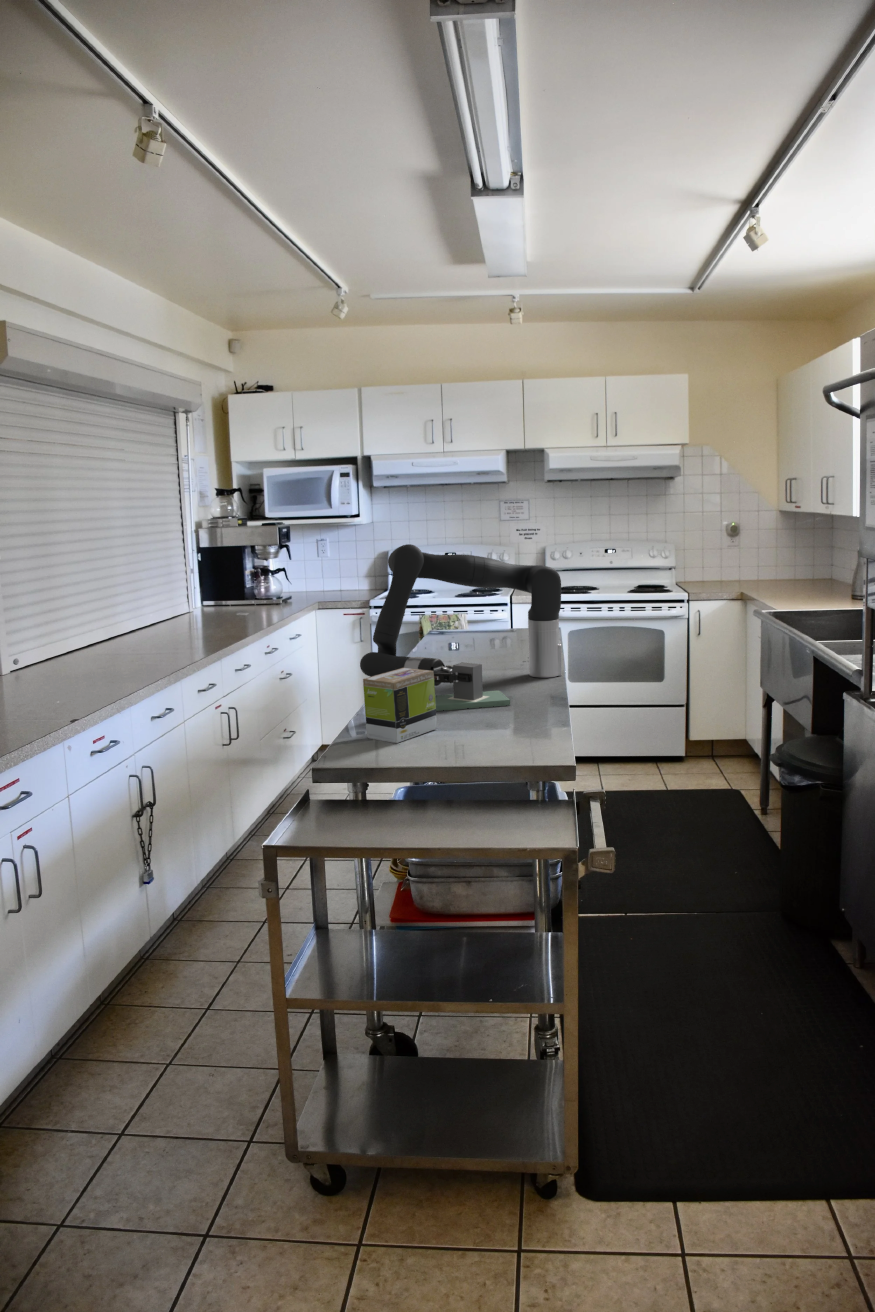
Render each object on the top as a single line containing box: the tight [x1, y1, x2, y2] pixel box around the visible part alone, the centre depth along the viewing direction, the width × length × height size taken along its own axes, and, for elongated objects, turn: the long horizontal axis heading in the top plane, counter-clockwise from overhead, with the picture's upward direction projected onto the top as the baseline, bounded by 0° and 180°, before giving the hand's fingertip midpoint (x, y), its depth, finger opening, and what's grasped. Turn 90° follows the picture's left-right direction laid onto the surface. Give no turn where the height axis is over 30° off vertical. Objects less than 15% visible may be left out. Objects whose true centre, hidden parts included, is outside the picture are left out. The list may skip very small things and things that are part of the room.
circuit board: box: [435, 690, 511, 712], centre depth 253 cm, size 20×12×4 cm, turn 100°
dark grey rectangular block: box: [452, 661, 484, 700], centre depth 253 cm, size 6×4×9 cm
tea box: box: [362, 668, 438, 744], centre depth 224 cm, size 15×10×15 cm
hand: (476, 676), depth 251 cm, fingers closed on dark grey rectangular block, 4 cm apart
